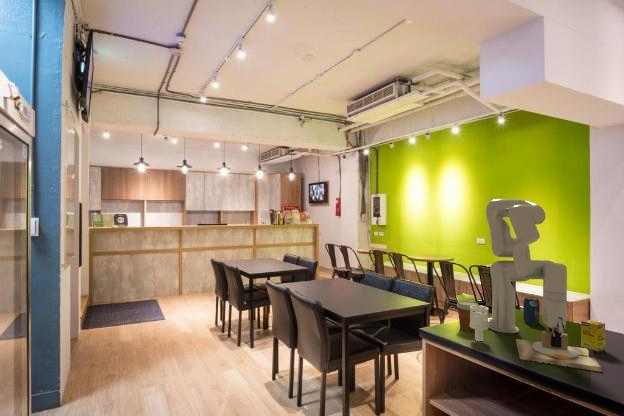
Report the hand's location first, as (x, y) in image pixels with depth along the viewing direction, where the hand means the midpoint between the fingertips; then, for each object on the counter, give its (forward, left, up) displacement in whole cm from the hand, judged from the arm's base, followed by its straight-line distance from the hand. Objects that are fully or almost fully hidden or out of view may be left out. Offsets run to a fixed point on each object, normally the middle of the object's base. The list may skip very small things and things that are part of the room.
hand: (554, 345), depth 141 cm
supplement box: (+15, +15, -4) cm, 22 cm away
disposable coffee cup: (-31, +20, -4) cm, 37 cm away
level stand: (0, 0, -4) cm, 4 cm away
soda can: (-3, +48, -4) cm, 48 cm away
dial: (0, -1, -2) cm, 2 cm away
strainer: (-26, +5, -4) cm, 27 cm away
